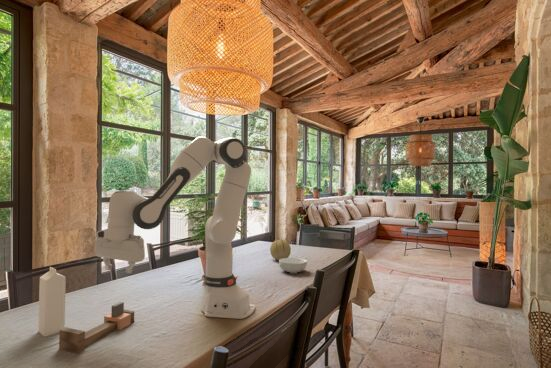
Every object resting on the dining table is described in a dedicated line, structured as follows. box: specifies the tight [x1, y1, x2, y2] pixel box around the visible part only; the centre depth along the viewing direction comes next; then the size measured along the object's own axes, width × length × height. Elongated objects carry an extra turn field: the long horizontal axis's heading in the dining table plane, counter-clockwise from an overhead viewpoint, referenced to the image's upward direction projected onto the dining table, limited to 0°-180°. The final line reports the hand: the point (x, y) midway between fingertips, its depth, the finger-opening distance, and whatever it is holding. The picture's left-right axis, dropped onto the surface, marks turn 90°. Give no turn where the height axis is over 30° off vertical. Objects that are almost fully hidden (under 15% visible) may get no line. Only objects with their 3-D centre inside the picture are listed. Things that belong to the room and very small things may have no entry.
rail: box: [58, 309, 135, 355], centre depth 109 cm, size 8×24×6 cm, turn 162°
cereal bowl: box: [278, 257, 308, 274], centre depth 194 cm, size 17×17×7 cm
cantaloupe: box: [269, 238, 292, 261], centre depth 224 cm, size 15×15×15 cm
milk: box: [37, 266, 67, 337], centre depth 111 cm, size 6×6×22 cm
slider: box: [103, 301, 132, 331], centre depth 116 cm, size 7×5×8 cm
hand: (118, 271), depth 117 cm, fingers open, 8 cm apart
